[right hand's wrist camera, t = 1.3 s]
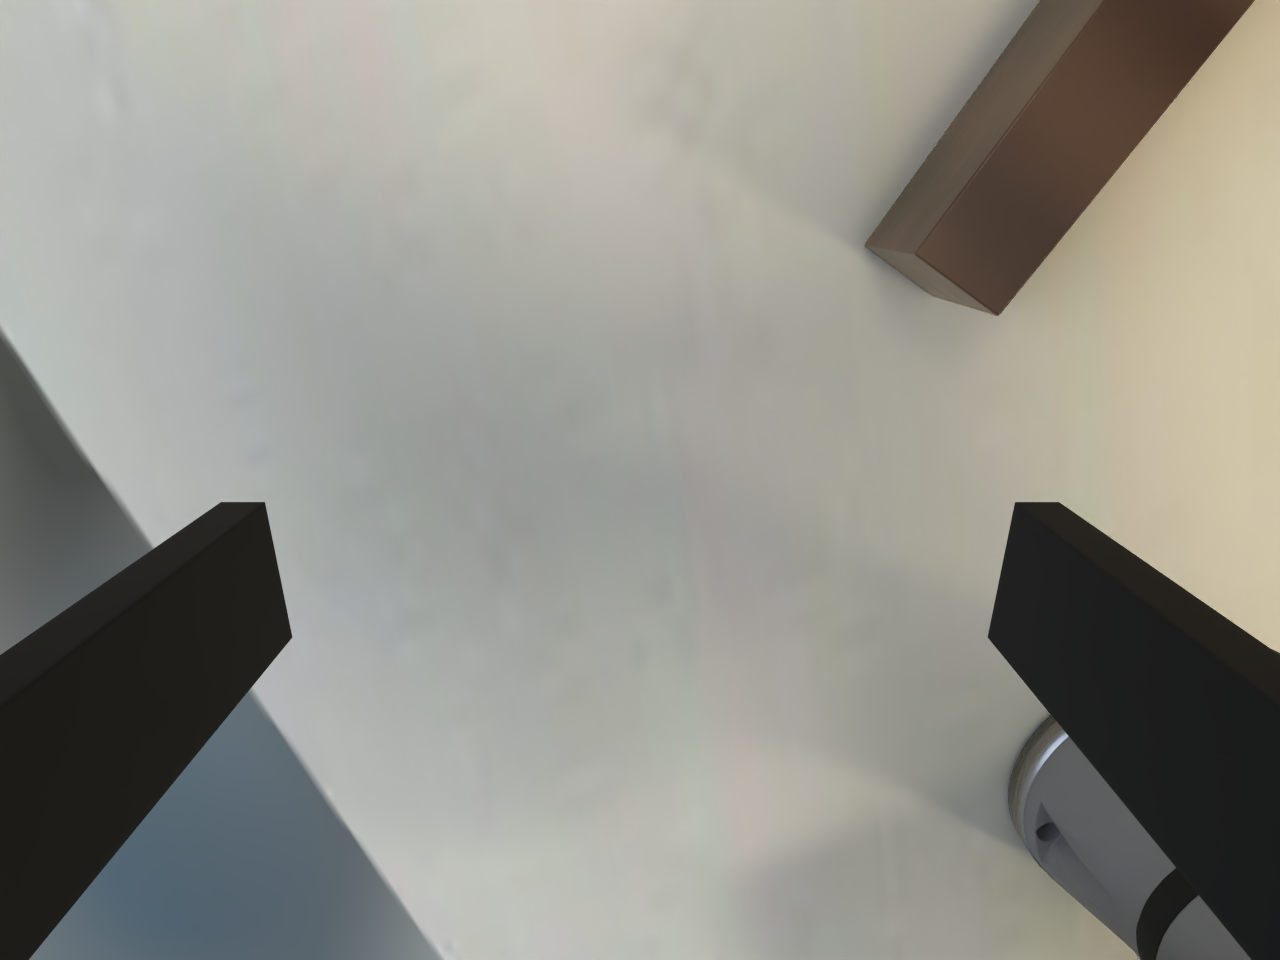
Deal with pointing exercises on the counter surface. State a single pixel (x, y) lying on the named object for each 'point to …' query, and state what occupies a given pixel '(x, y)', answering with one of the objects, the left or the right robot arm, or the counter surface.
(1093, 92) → the walnut bar
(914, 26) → the counter surface
